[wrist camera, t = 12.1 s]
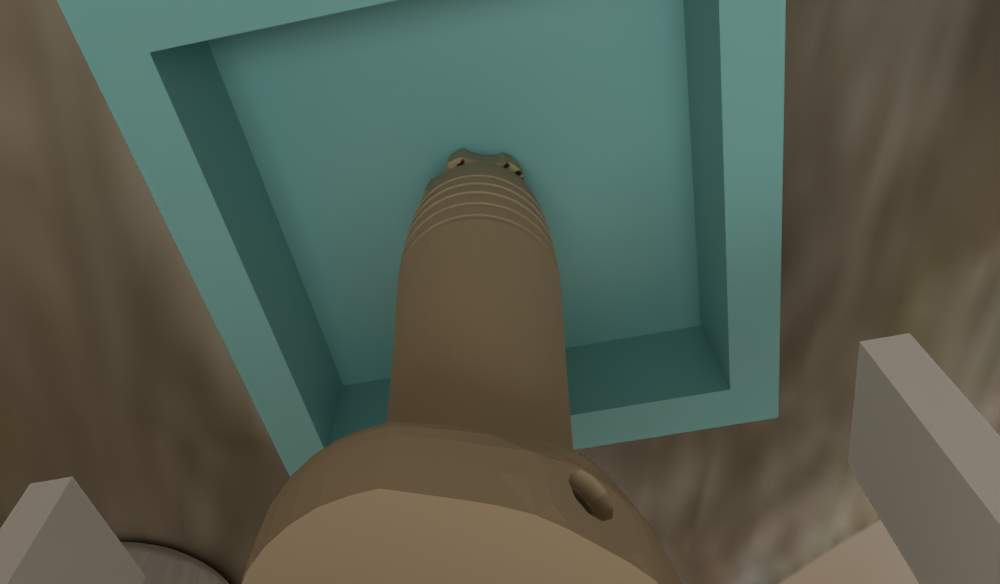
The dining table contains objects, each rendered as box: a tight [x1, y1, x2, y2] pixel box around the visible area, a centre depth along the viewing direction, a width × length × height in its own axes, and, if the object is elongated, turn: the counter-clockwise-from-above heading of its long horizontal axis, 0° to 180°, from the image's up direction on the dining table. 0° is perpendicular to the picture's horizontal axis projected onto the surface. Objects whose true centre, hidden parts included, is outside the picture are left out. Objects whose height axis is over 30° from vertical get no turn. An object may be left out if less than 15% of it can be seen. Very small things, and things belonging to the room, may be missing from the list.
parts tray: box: [57, 0, 786, 477], centre depth 21 cm, size 16×16×4 cm
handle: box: [241, 149, 682, 584], centre depth 16 cm, size 5×6×15 cm
